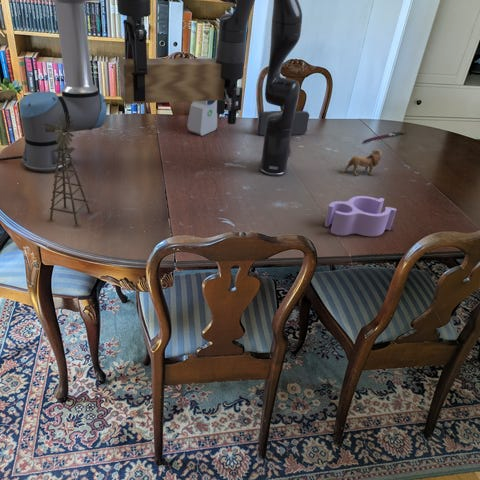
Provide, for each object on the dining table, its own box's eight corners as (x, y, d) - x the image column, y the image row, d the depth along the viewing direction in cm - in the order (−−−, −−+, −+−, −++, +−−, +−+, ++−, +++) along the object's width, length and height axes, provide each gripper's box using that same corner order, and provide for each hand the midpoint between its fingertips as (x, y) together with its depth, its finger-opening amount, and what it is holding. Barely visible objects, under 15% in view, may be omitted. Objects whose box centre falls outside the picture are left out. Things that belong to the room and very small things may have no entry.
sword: (401, 131, 224) (402, 128, 223) (406, 133, 222) (407, 131, 221) (358, 142, 208) (358, 140, 207) (363, 145, 206) (363, 142, 205)
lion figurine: (372, 168, 182) (378, 147, 177) (380, 174, 178) (386, 152, 173) (340, 171, 177) (345, 148, 172) (347, 177, 173) (352, 154, 168)
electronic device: (200, 136, 194) (204, 61, 178) (186, 132, 197) (188, 57, 181) (217, 129, 203) (222, 57, 187) (203, 125, 206) (207, 53, 190)
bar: (125, 103, 116) (123, 64, 111) (120, 96, 121) (118, 58, 116) (223, 100, 126) (226, 64, 121) (215, 93, 131) (217, 58, 126)
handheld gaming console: (303, 132, 210) (307, 110, 205) (306, 134, 208) (310, 112, 203) (256, 133, 203) (259, 111, 198) (258, 135, 201) (261, 113, 196)
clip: (337, 240, 135) (342, 219, 131) (318, 218, 145) (322, 198, 141) (395, 233, 141) (402, 213, 137) (373, 213, 151) (378, 194, 147)
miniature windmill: (76, 226, 128) (64, 120, 112) (48, 221, 129) (32, 115, 113) (91, 211, 136) (82, 109, 120) (65, 206, 137) (52, 104, 121)
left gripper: (161, 3, 101) (160, 108, 114) (140, -9, 115) (142, 86, 128) (126, 1, 98) (129, 109, 111) (109, -11, 112) (114, 86, 125)
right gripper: (254, 65, 119) (247, 126, 128) (233, 52, 129) (228, 110, 138) (227, 65, 116) (222, 128, 125) (207, 52, 127) (204, 111, 135)
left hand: (136, 96), depth 119 cm, fingers closed on bar, 6 cm apart
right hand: (225, 118), depth 131 cm, fingers open, 8 cm apart
